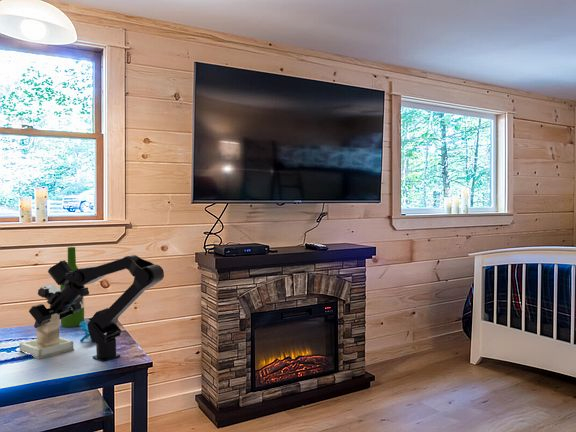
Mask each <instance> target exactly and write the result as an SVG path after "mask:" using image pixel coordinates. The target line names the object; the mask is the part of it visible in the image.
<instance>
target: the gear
mask: <svg viewBox="0 0 576 432" xmlns="http://www.w3.org/2000/svg"><path fill="white" fill-rule="evenodd" d="M87 325H88V322H87V321H84V322H83V321H81V322H80V325H79V326H78V327H80V330H81V331H82V332H84V336H83V337H82V338H80V339H79V342H80V343H82V342H83V341H85V340H86V339H91V337H90V334H89V331H88V326H87Z"/></svg>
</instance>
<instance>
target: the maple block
mask: <svg viewBox="0 0 576 432" xmlns="http://www.w3.org/2000/svg"><path fill="white" fill-rule="evenodd" d="M60 324H61V319H60V314H59V315H58V314H54V315H51V319H50V322H48V323H46V324H44V325H42V326H40V327H38V328H36V339H37V348H39V349H42V348H46V347H50V346H53V345H57V344H59V337H60Z"/></svg>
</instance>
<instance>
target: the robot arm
mask: <svg viewBox="0 0 576 432" xmlns="http://www.w3.org/2000/svg"><path fill="white" fill-rule="evenodd" d="M124 270H128V271H129V273H130V275H132V277H134V278H133V281H132V284H131V285H130V286H129V287H128V288H127V289H126V290H125V291H124V292H123V293H122V294H121V295H120V296H119V297H118V298H117V299H115V302H113V303H112V304H111V305H110V306H109V307H105V308H104V309H100V310H98V311H96V312H95V313H94V314H93V315H92V317H90V318H88V320H89V321H88V322H87V326H88V331H89V334H90V336H89V337H91V338H90V340H91V342H92V343H95V344H96V347H95V348H96V354H95V355H93V356H92V359H95V360H98V361H100V362H106V361H110V360H113V359H116V358H120V357H121V354H119V353H117V339H116V338H117V337H120V336H121V333H122V330H121V328H120V327H119V326H118V325H117V323H118V322H119V321H118V320H119V317H121V315H122V314H123V313H124V312H126V310H128V308H129V307H131V305H132V304H133V303H134V302H136V300H137V299H138V298H139V297H140V296H141V295H142V294H143V293H144V292H145V291H147V290H148V289H150V288H151V287H154V286H156V285H157V284H158V283H160V282H161V281H163V279H164V277H165V271H164V269H163V267H162V266H161V265H158V264H155V263H153V262H152V261H150V260H145V259H143V258H142V257H139V256H138V255H135V254H130V255H125V256H124V257H122V258H119V259H116V260H113V261H110V262H107V263H104V264H100V265H93V266H85V267H80V268H78V269H76V270H75V271H73V270H72V269H71V268H70V267H69V265H68V261H67V260H60V261H59V262H58V263H56V264H54V265H53V266H50V268H49V269H48V271H47V273H48V274H49V276H50V277H51V278H52V279H53V281H54V282H55V283H56V284H57V285H58V286H60V285H66V286H65V287H64V288H63V289H62V290H61V289H60V287H57V286H56V285H54V284H46V285H43V286H41V287H40V288H39V289H38V290H37V295H38V296H39V297H40V298H45V299H46V303H47V304H48V305H49V308H47V306H45V304H43V303H41V304H40V303H39V304H36V305H32V306H31V307H30V309H29V310H28V313H29V314H30V315H31V317H32V318H33V319H34V320H35V322H34V325H33V328H35V329H37V328H38V327H40V326H42V325H44V324H46V323H48V322H50V319H51V315H54V314H58V315H59V314H60V320H61V319H62V318H65V317H67V316H69V315H72V314H73V313H76V312H79V310H80V309H81V304H80V303H79V301H78V300H77V298H78V297H79V296H81V297H83V296H84V297H85V296H89V295H90V291H89V288H88V287H86V285H89V284H94V283H96V282H98V281H100V280H101V279H103V277H105V276H107V275H111V274H114V273H117V272H120V271H124ZM72 308H73V309H74V310H73V311H72Z"/></svg>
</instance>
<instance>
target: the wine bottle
mask: <svg viewBox="0 0 576 432" xmlns="http://www.w3.org/2000/svg"><path fill="white" fill-rule="evenodd" d="M76 261H77V259H76V246H68V247H67V264H68V265H69V267H70V268H71V269H72V270H73V271H75V270H76V269H79V268H78V266H77V262H76ZM65 286H66V285H59V289H61V290H62V289H63V288H64V287H65ZM77 300H78V301H79V303H80V304H81V309H80V310H79V312H76V313H73V314H72V315H69V316H67V317H65V318H62V319H60V326H61V327H63V328H75V327H74V326H76V327H80V326H79V325H80V322H81V321H83V322H85V296H83V297H81V296H79V297H78V298H77ZM73 310H74V309H73V308H72V311H73Z"/></svg>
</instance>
